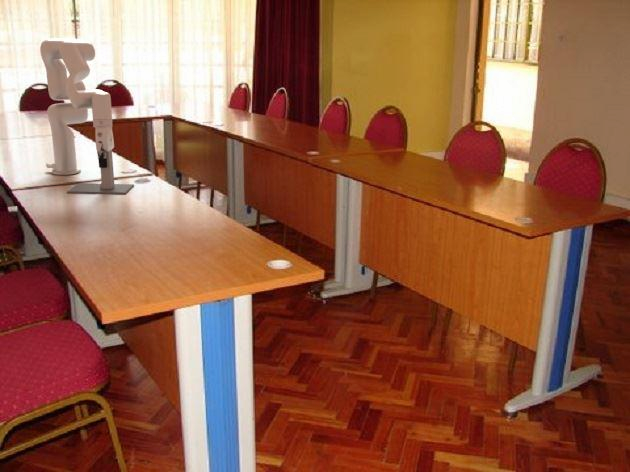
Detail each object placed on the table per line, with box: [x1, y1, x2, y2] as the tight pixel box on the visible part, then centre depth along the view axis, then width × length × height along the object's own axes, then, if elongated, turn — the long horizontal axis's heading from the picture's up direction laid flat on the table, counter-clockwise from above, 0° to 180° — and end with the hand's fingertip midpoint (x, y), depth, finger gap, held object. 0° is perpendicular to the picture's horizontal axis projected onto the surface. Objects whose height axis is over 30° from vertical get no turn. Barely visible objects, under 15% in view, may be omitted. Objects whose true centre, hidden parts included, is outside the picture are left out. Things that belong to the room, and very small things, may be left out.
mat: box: [66, 182, 135, 195], centre depth 284 cm, size 24×14×1 cm, turn 90°
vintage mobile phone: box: [96, 149, 115, 189], centre depth 279 cm, size 4×5×25 cm
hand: (105, 165), depth 279 cm, fingers open, 7 cm apart
